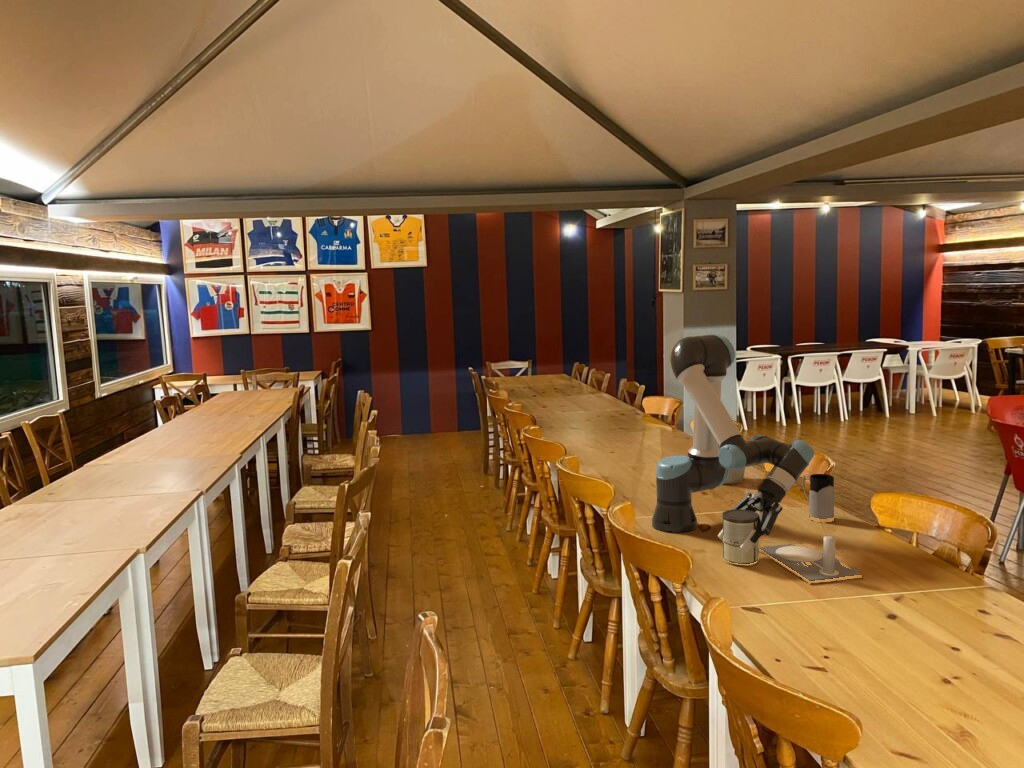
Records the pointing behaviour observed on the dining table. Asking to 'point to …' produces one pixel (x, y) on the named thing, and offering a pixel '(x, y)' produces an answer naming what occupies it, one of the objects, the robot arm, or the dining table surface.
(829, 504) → the grey and black mug
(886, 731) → the dining table surface
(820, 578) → the pegged base plate
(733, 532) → the coffee can
